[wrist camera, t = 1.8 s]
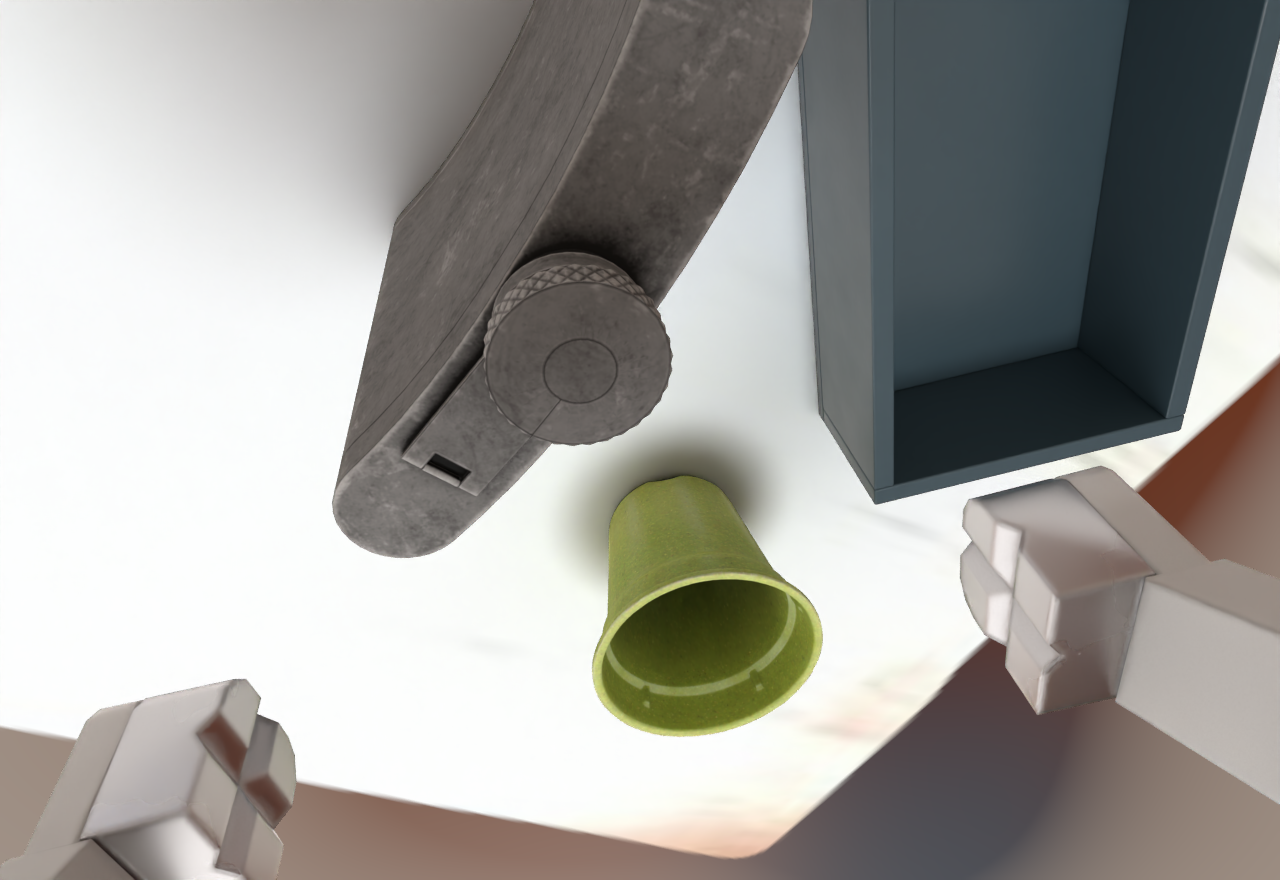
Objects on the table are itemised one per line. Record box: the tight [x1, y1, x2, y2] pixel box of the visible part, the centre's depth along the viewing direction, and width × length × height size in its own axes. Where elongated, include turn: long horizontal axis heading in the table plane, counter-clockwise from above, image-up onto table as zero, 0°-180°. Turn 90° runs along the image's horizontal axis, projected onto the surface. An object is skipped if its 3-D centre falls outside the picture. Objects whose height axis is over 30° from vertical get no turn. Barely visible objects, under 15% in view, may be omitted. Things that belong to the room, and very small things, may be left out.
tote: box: [798, 0, 1280, 504], centre depth 29 cm, size 22×13×7 cm, turn 10°
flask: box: [332, 0, 813, 558], centre depth 21 cm, size 4×14×18 cm, turn 145°
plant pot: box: [592, 476, 823, 737], centre depth 37 cm, size 9×9×9 cm
